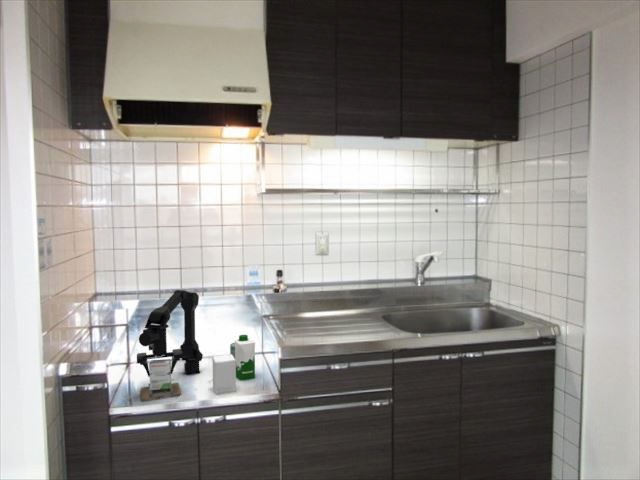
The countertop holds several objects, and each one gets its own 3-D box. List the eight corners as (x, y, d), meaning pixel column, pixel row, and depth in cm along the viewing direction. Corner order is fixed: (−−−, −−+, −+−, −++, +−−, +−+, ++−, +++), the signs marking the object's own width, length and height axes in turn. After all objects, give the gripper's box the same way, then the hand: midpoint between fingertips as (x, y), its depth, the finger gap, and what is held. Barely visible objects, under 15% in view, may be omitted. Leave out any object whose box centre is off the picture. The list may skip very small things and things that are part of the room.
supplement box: (236, 393, 203) (236, 359, 202) (215, 396, 200) (215, 362, 199) (232, 386, 212) (232, 353, 211) (212, 389, 209) (212, 356, 208)
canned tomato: (244, 368, 236) (244, 346, 236) (228, 368, 236) (228, 346, 236) (247, 362, 244) (246, 342, 244) (232, 362, 244) (231, 342, 244)
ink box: (171, 384, 208) (171, 358, 207) (170, 388, 203) (169, 362, 202) (151, 386, 206) (150, 359, 205) (149, 390, 201) (148, 363, 201)
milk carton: (251, 374, 228) (250, 333, 226) (257, 380, 220) (257, 338, 218) (233, 377, 224) (232, 335, 222) (239, 383, 216) (238, 340, 214)
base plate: (178, 384, 214) (178, 379, 214) (181, 395, 201) (181, 390, 201) (140, 389, 208) (140, 384, 208) (141, 401, 195) (141, 396, 195)
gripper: (180, 333, 214) (180, 366, 215) (136, 337, 207) (137, 372, 208) (182, 339, 204) (183, 374, 205) (136, 344, 197) (137, 380, 198)
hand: (160, 375), depth 204 cm, fingers closed on ink box, 9 cm apart
